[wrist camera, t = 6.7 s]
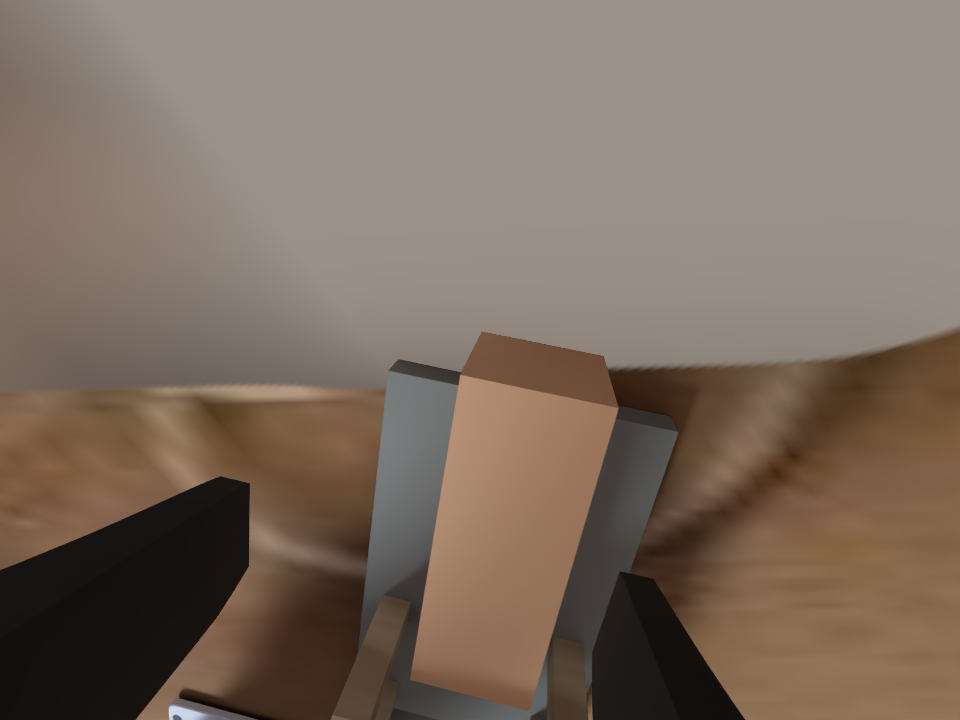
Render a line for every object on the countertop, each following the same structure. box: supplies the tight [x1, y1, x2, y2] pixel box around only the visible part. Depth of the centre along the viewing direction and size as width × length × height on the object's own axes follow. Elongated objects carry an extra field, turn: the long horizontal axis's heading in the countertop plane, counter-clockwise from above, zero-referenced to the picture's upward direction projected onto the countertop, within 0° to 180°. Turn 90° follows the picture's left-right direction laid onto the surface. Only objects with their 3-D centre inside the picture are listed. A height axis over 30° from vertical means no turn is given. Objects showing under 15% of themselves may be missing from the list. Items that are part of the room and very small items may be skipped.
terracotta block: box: [410, 332, 619, 711], centre depth 16 cm, size 11×4×4 cm, turn 171°
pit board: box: [357, 360, 679, 720], centre depth 21 cm, size 21×10×1 cm, turn 171°
